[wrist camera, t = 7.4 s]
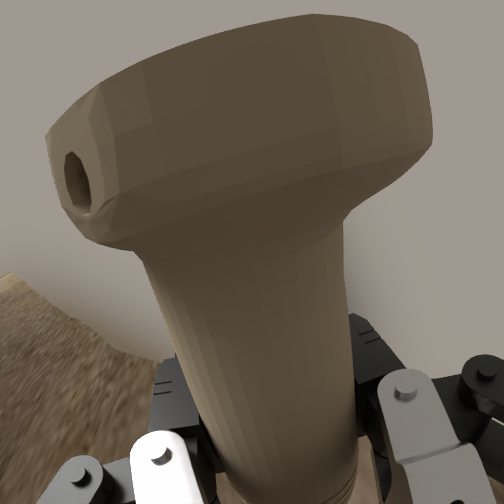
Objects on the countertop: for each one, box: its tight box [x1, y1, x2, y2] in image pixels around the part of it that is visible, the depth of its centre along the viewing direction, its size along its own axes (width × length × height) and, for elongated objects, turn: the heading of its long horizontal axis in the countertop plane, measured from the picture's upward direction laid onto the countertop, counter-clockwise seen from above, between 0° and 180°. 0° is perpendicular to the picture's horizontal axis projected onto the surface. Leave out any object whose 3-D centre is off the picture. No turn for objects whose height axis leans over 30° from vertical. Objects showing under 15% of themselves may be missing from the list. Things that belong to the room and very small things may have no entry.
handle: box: [45, 14, 433, 504], centre depth 7 cm, size 5×6×15 cm
